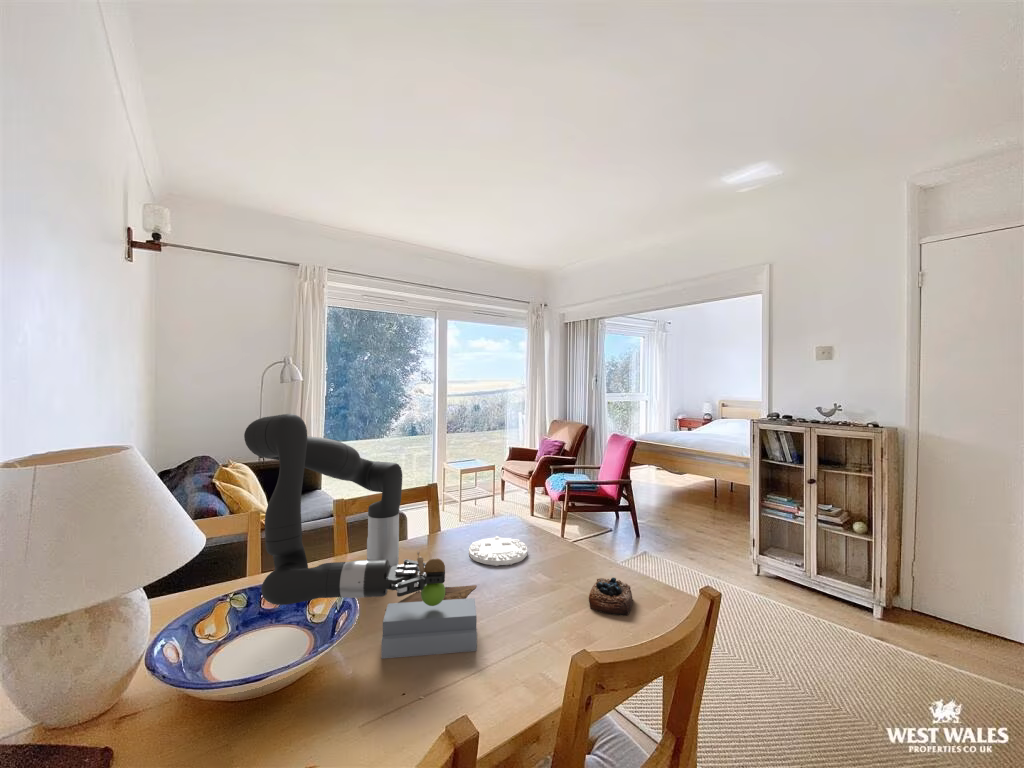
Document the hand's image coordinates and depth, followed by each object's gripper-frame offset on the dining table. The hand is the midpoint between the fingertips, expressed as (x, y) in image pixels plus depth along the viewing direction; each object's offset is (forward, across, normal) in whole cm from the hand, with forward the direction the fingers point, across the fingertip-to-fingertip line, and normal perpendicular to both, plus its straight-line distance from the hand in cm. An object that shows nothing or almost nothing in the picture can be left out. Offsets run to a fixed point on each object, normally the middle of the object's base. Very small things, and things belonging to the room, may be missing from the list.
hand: (444, 574), depth 94 cm
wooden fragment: (-2, +18, +15) cm, 24 cm away
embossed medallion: (+18, +46, +15) cm, 51 cm away
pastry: (+44, +10, +15) cm, 47 cm away
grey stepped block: (-3, 0, +15) cm, 15 cm away
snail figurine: (-3, 0, +7) cm, 7 cm away
